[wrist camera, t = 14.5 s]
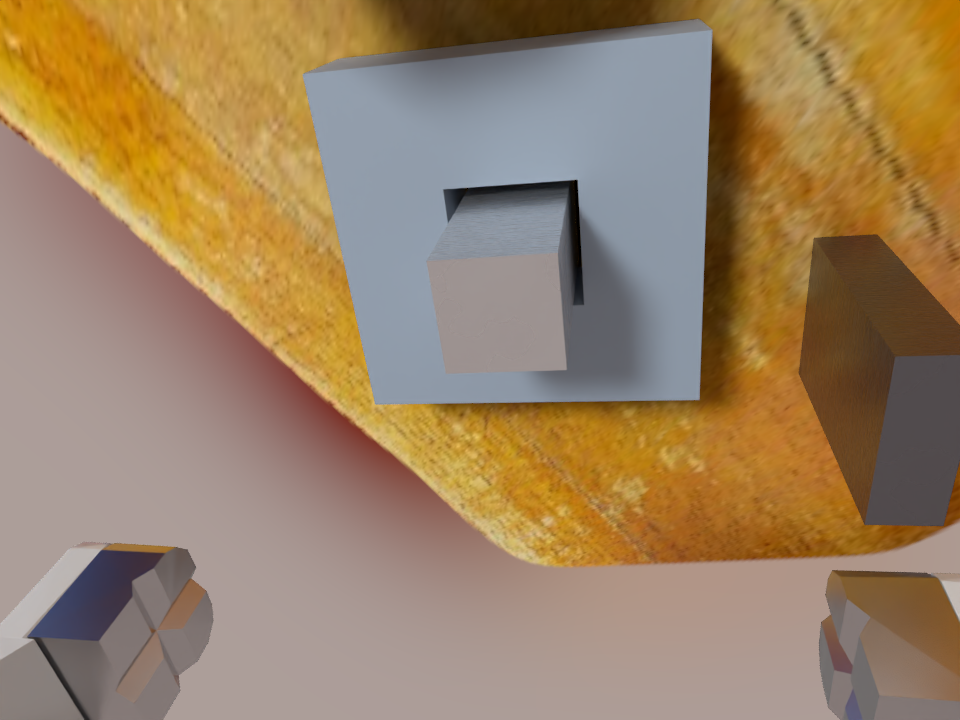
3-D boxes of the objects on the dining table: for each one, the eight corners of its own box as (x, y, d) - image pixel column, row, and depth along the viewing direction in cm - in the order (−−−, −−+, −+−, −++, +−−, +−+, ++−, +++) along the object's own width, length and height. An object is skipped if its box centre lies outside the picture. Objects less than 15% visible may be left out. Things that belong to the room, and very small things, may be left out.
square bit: (572, 164, 30) (557, 252, 21) (578, 255, 32) (566, 369, 23) (477, 172, 31) (426, 261, 22) (489, 260, 33) (445, 373, 24)
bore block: (699, 18, 27) (712, 30, 23) (690, 353, 33) (699, 400, 30) (338, 58, 29) (302, 74, 26) (397, 360, 36) (375, 404, 33)
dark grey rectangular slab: (877, 234, 29) (986, 354, 21) (855, 372, 33) (943, 525, 24) (813, 237, 30) (895, 356, 21) (798, 373, 33) (864, 524, 24)
